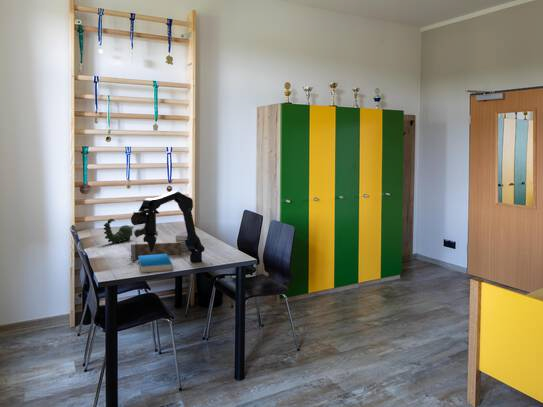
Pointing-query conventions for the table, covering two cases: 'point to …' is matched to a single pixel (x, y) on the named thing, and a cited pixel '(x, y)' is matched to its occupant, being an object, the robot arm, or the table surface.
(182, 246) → the can
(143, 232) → the robot arm
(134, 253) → the bookend
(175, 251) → the shelf wall
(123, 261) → the table surface
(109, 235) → the toy figurine
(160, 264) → the book
